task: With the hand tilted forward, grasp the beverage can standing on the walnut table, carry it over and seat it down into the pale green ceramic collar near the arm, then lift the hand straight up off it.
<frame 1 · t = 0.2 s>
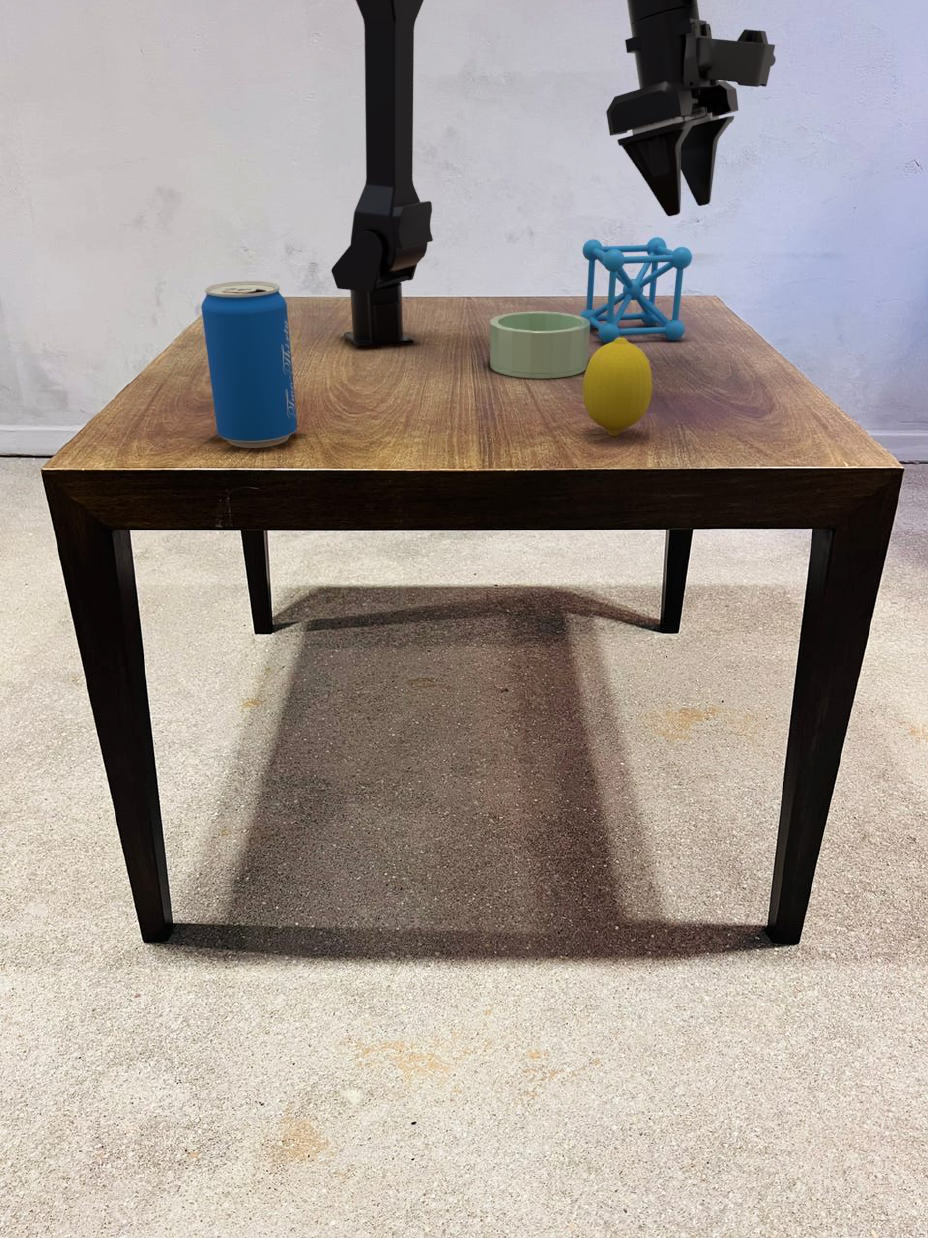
hand: (689, 209, 89), 15 cm above the table, tool pointing down, fingers open, 9 cm apart
beverage can: (258, 440, 81), on the table
collar: (538, 365, 101), on the table
lemon: (613, 437, 81), on the table
molecular structure: (629, 335, 114), on the table
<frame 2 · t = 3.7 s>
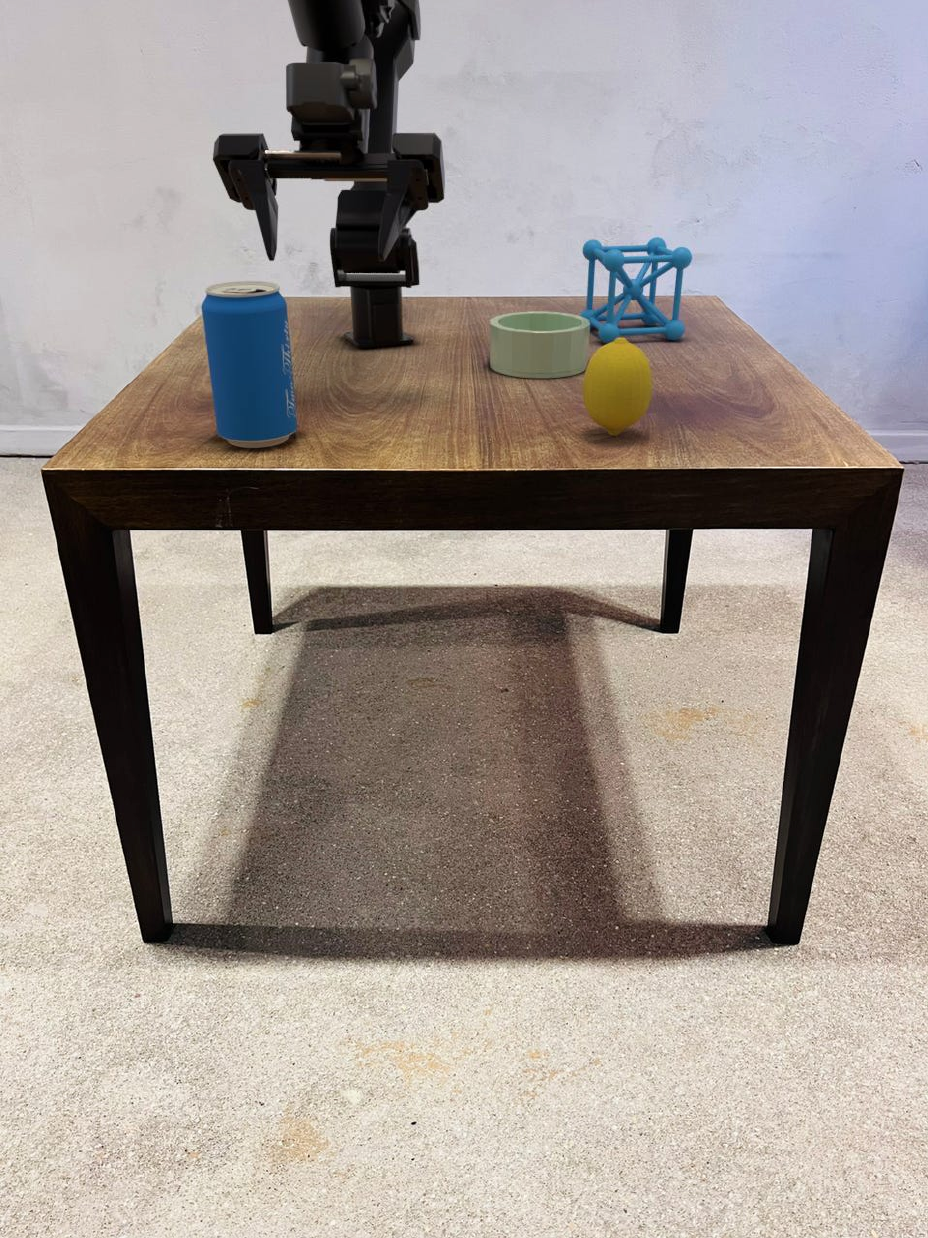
hand: (325, 258, 81), 13 cm above the table, tool tilted 40°, fingers open, 9 cm apart
nothing on the table moved.
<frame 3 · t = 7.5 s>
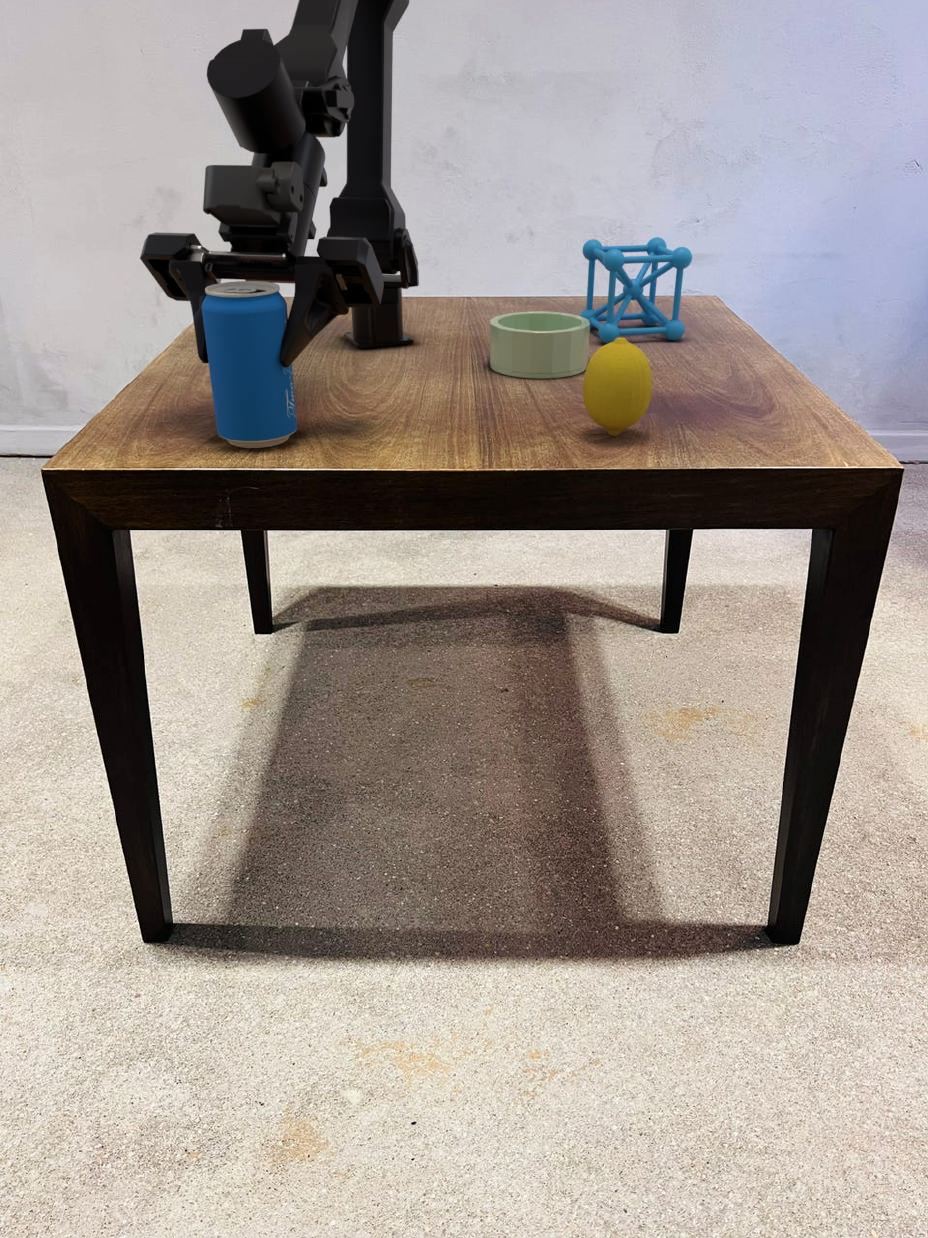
hand: (242, 362, 77), 7 cm above the table, tool tilted 45°, fingers closed on beverage can, 6 cm apart
beverage can: (258, 440, 81), on the table, touching gripper
everything else where it was.
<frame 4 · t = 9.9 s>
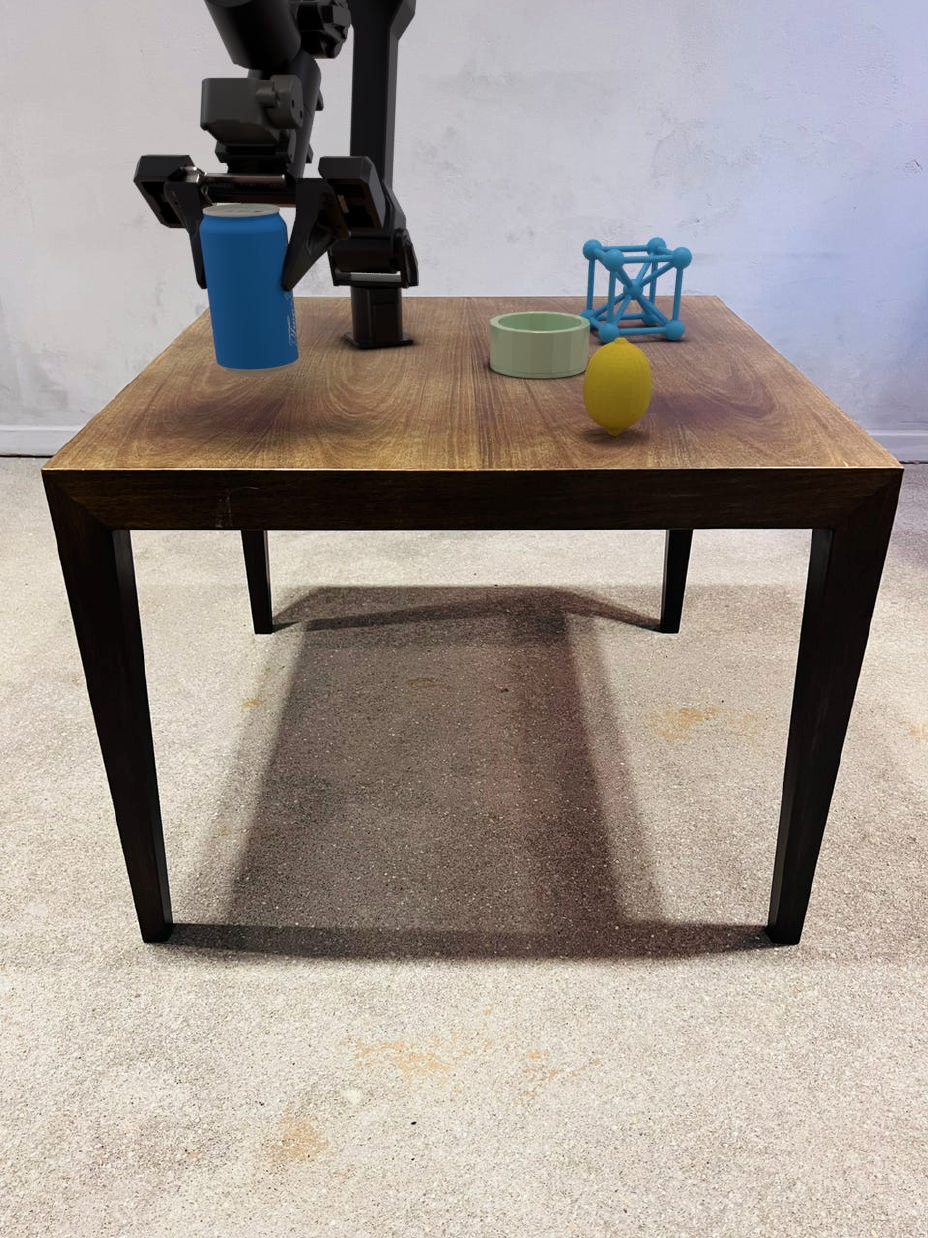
hand: (242, 287, 74), 12 cm above the table, tool tilted 45°, fingers closed on beverage can, 6 cm apart
beverage can: (259, 371, 79), point 5 cm above the table, touching gripper
everything else where it was.
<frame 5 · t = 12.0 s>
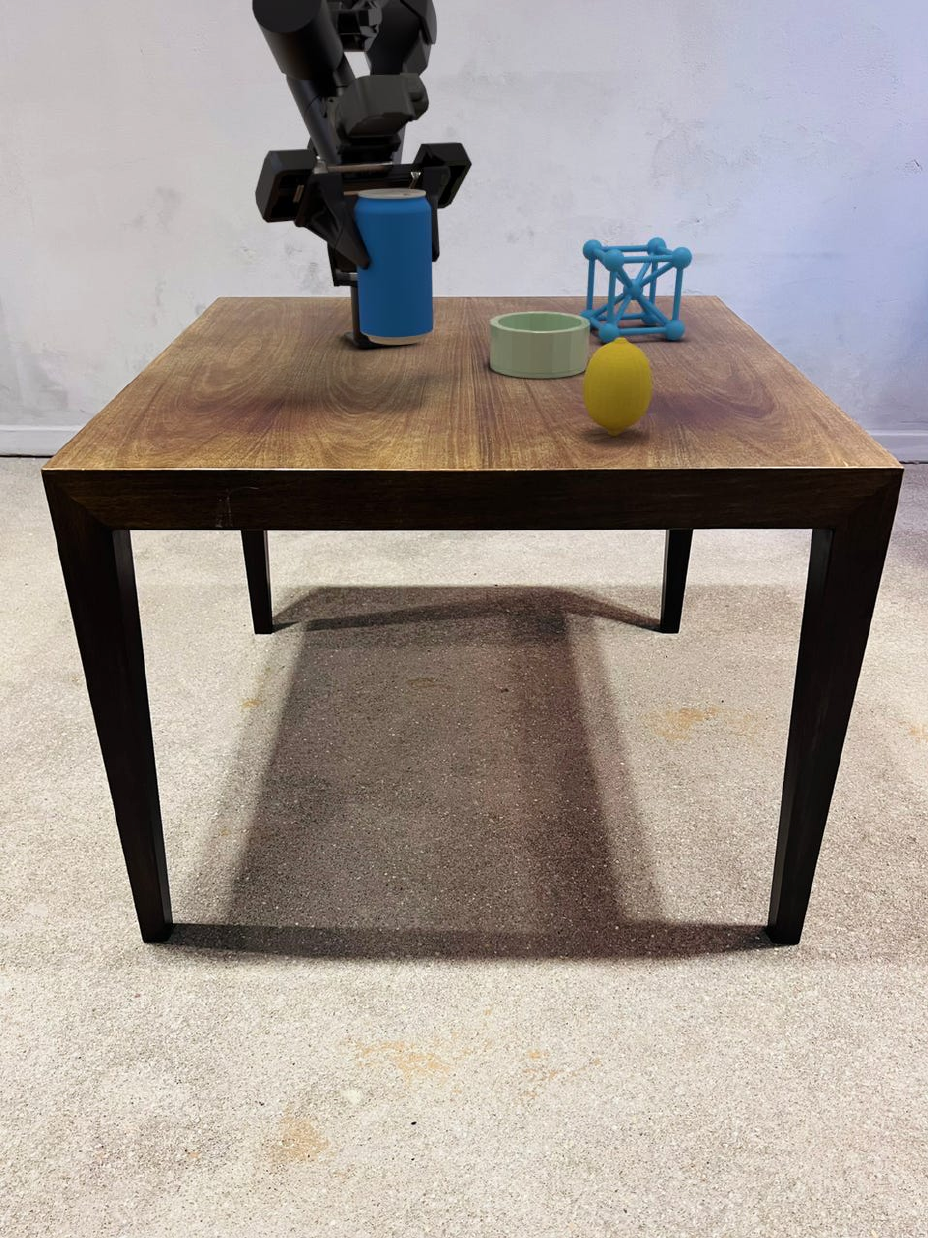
hand: (402, 262, 83), 12 cm above the table, tool tilted 45°, fingers closed on beverage can, 6 cm apart
beverage can: (397, 340, 87), point 6 cm above the table, touching gripper
everything else where it was.
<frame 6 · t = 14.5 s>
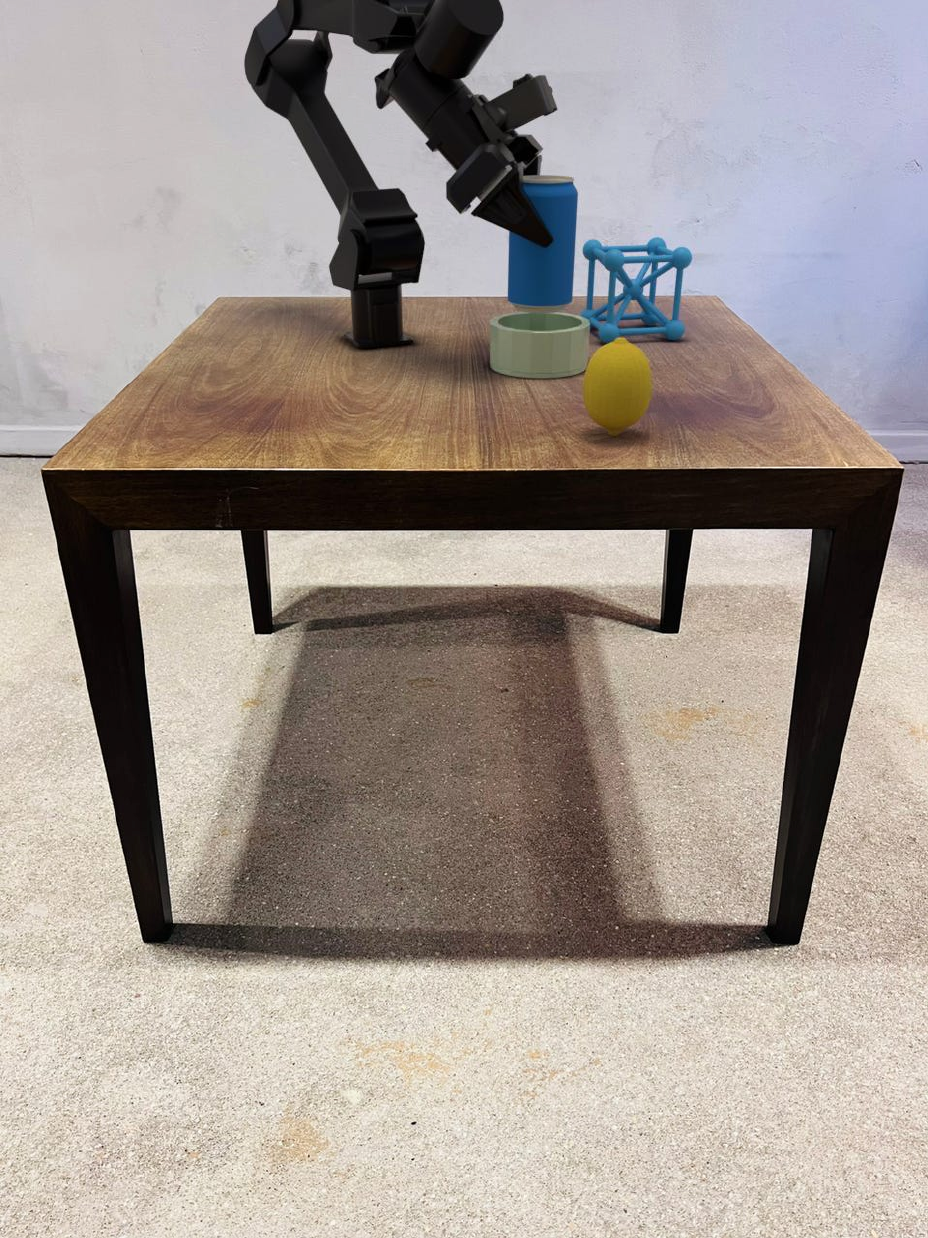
hand: (555, 239, 95), 12 cm above the table, tool tilted 45°, fingers closed on beverage can, 6 cm apart
beverage can: (539, 310, 99), point 6 cm above the table, touching gripper
everything else where it was.
when the fingers open (7 cm above the table, at t = 16.6 s): beverage can stays where it is, resting on collar.
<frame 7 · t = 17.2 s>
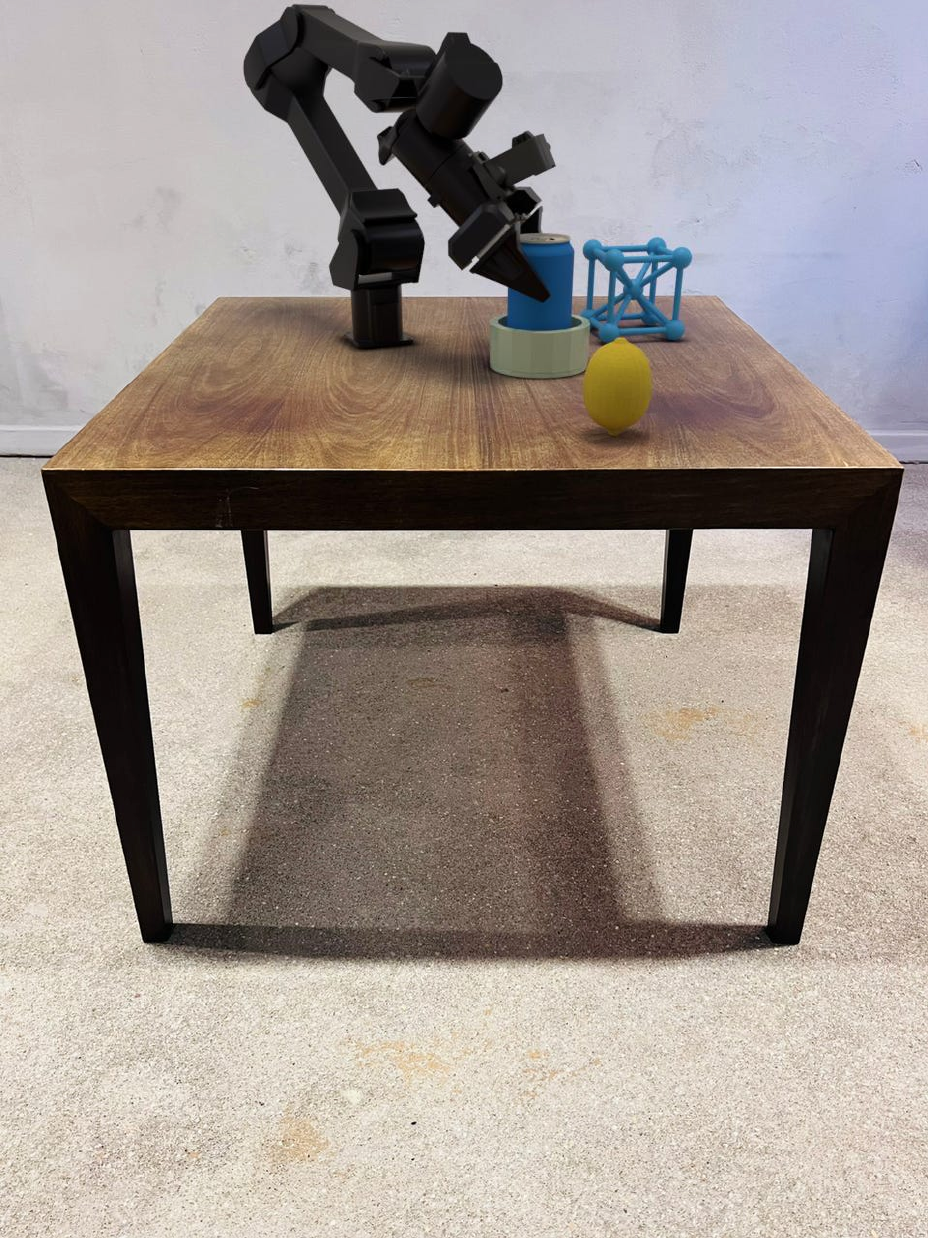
hand: (555, 290, 97), 8 cm above the table, tool tilted 45°, fingers open, 9 cm apart
beverage can: (537, 362, 101), resting on collar
everything else where it was.
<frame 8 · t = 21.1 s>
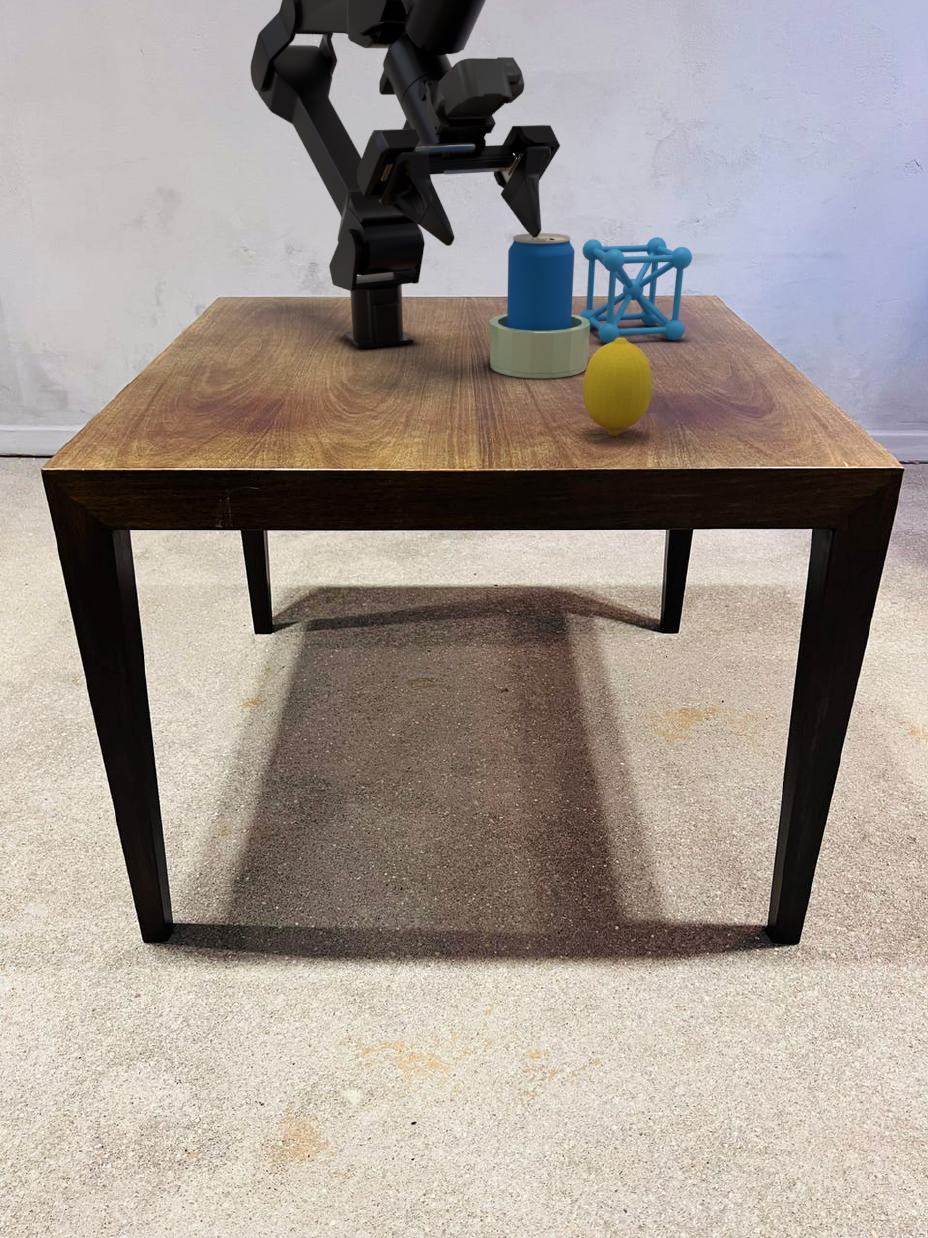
hand: (495, 238, 87), 14 cm above the table, tool tilted 45°, fingers open, 9 cm apart
nothing on the table moved.
at the end: beverage can 0.1 cm off-centre in the collar, point 0.3 cm above the collar's base; beverage can tilted 0°; the gripper is holding nothing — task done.
